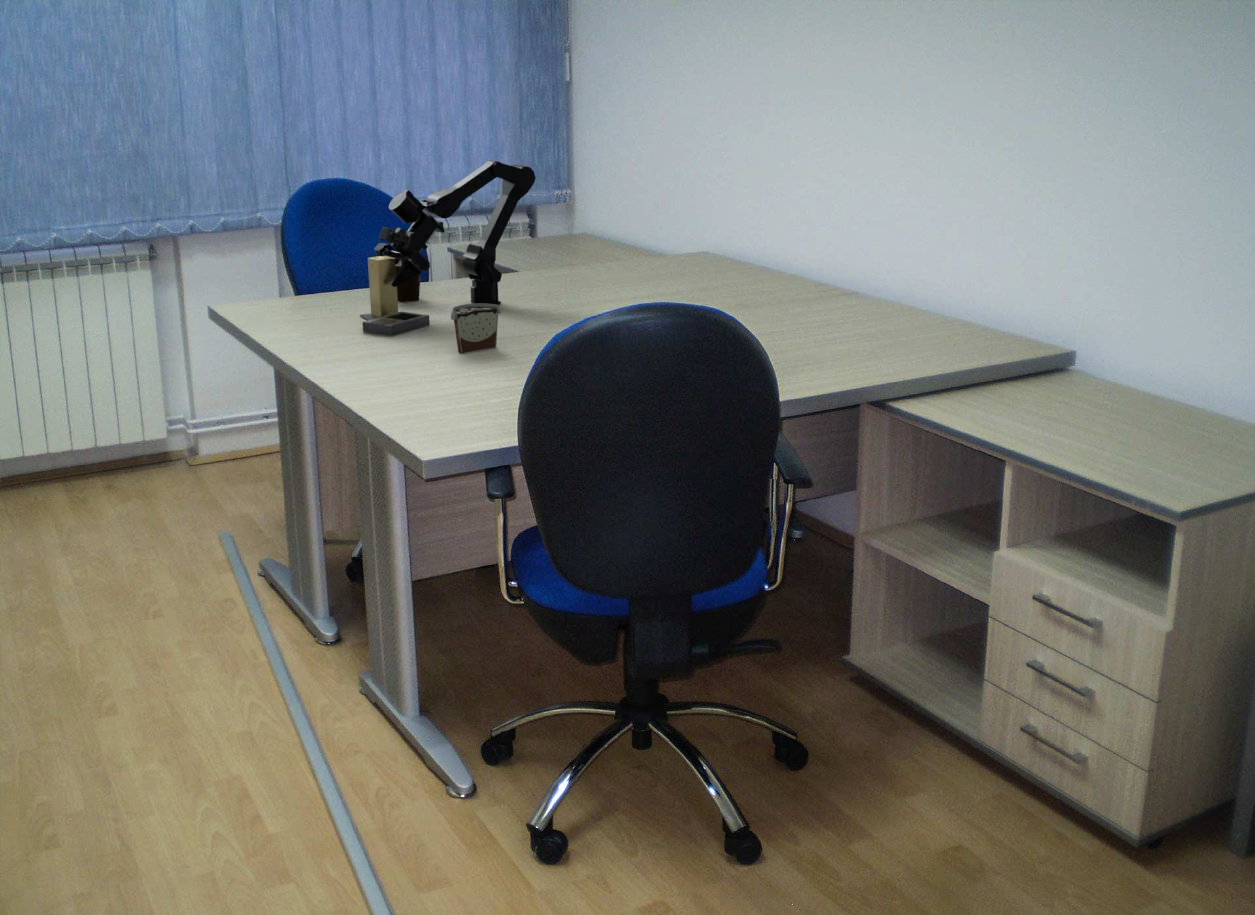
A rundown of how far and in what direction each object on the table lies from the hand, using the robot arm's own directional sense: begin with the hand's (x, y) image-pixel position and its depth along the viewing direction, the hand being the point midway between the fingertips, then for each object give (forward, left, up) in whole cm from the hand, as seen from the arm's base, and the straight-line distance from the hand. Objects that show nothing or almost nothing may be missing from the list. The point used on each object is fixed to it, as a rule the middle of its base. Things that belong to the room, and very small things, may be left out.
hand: (383, 283), depth 323 cm
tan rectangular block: (0, 0, -8) cm, 8 cm away
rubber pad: (0, 0, -9) cm, 9 cm away
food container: (-7, +42, -9) cm, 44 cm away
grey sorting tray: (+2, +13, -9) cm, 16 cm away
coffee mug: (-14, -21, -9) cm, 27 cm away
